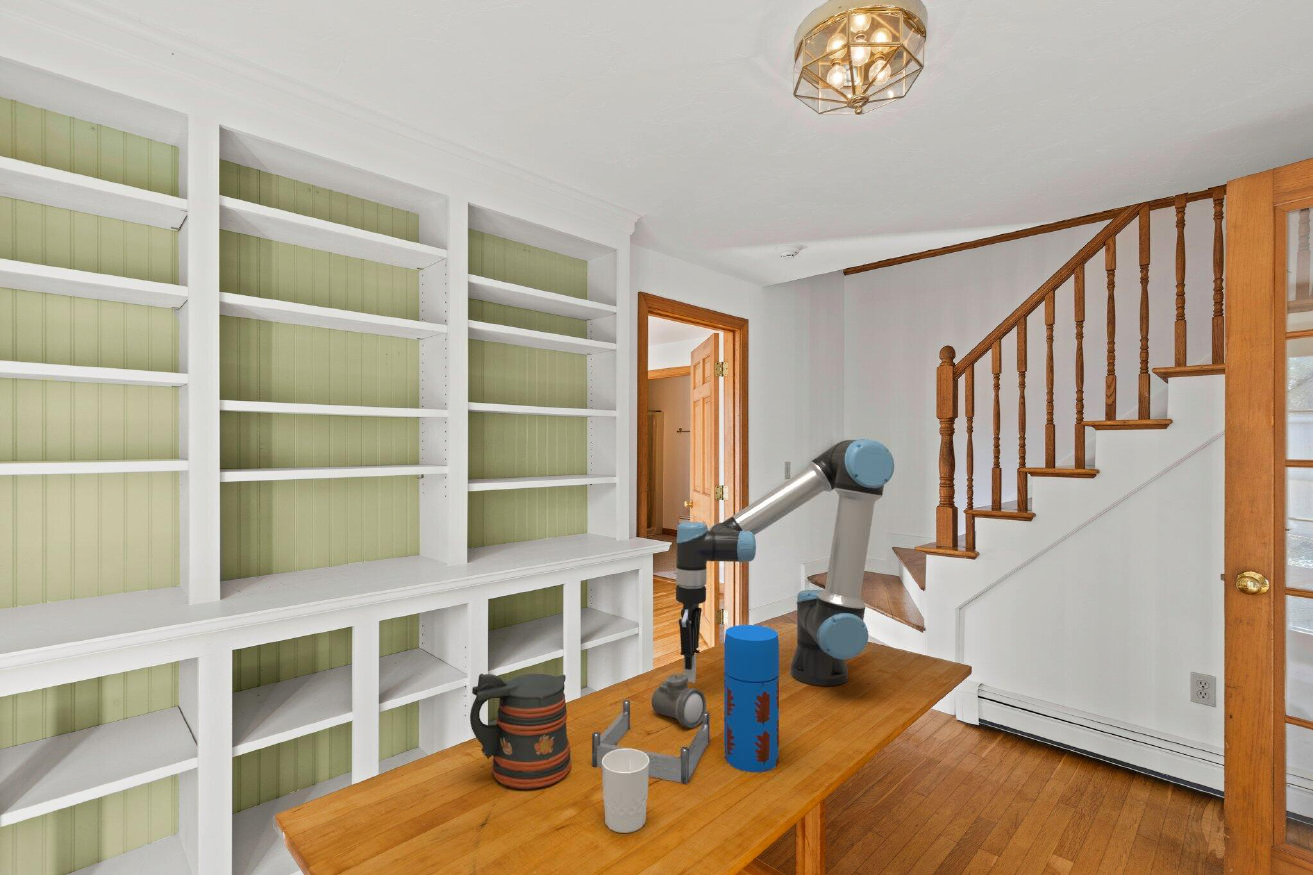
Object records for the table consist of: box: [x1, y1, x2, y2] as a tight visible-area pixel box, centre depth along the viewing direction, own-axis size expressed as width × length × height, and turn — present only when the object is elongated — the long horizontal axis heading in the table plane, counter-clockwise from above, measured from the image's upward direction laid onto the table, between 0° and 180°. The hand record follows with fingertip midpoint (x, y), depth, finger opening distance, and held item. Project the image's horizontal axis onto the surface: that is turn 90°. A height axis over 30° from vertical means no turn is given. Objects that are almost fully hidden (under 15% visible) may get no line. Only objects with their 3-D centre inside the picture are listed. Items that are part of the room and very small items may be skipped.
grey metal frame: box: [591, 699, 711, 785], centre depth 123 cm, size 18×20×6 cm
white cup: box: [601, 748, 650, 834], centre depth 101 cm, size 8×8×10 cm
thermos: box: [723, 624, 780, 773], centre depth 121 cm, size 11×11×25 cm
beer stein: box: [469, 673, 572, 790], centre depth 115 cm, size 19×15×20 cm
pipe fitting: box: [650, 673, 707, 729], centre depth 138 cm, size 12×8×10 cm
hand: (689, 680), depth 150 cm, fingers closed
